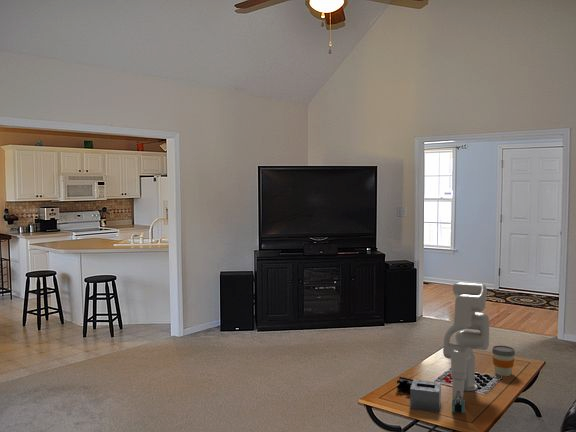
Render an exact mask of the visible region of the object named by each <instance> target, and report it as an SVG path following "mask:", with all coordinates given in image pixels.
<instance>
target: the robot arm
mask: <svg viewBox="0 0 576 432" xmlns="http://www.w3.org/2000/svg"><path fill="white" fill-rule="evenodd" d="M452 291H453V294H454V296H455V301H454V316H453V317H454V318H453V323H452V325H451V326H450V327H449V328H448V329H447V331H446V332H445V334H444V337H443V347H442V353H443V356H444V358H446V359H448V360H450V378H452V398H453V399H455V412H454V413H459V414H463V413H462V405H461V400H462V399H463V398H464V391H465V392H472V391H473V392H474V391H476V390H478V385H477V384H476V383H475V380H476V378H475V377H476V375H475V374H476V370H475V369H476V357H475V354H474V351H473V350H479V351H487V350H488V349H489V347H490V318H489V315H488V314H487V313H485V312H484V310H485V309H486V308H485V307H486V304H487V303H486V302H487V294H488V289H487V286H486V285H485V284H483V283H476V282H475V283H472V282H455V283H453V284H452ZM473 330H474V331H473ZM455 333H456V334H455ZM454 334H455V338H454V339H455V343H454V344H453V343H450V341H451V337H452V336H453V335H454ZM452 398H451V399H452ZM463 400H464V399H463Z"/></svg>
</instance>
